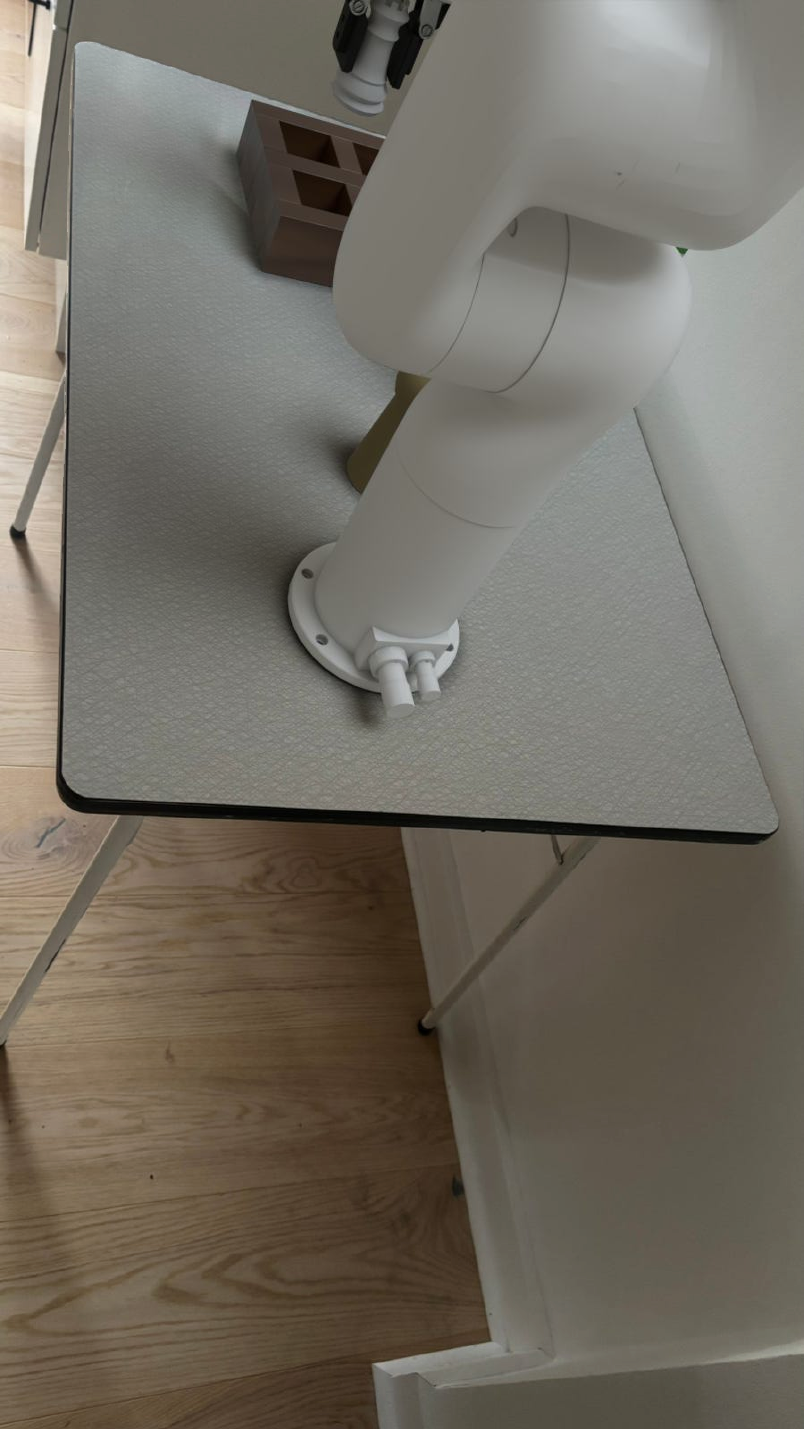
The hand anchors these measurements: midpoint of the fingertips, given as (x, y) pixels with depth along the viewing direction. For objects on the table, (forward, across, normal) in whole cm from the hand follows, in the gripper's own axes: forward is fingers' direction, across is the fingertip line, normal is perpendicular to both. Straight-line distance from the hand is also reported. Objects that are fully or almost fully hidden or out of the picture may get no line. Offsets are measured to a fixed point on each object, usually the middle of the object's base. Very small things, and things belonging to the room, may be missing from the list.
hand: (367, 68), depth 78 cm
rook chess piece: (+3, 0, 0) cm, 3 cm away
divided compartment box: (+17, +4, +4) cm, 18 cm away
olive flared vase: (+17, +2, -26) cm, 31 cm away
